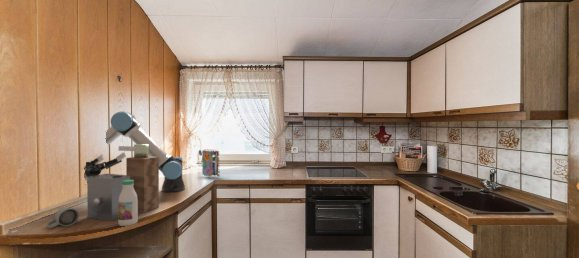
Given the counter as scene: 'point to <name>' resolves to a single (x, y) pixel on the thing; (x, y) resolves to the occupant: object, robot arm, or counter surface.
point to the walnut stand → (145, 181)
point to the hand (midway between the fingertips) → (114, 155)
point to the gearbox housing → (104, 195)
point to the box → (210, 163)
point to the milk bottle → (127, 204)
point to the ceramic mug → (64, 217)
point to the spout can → (137, 150)
